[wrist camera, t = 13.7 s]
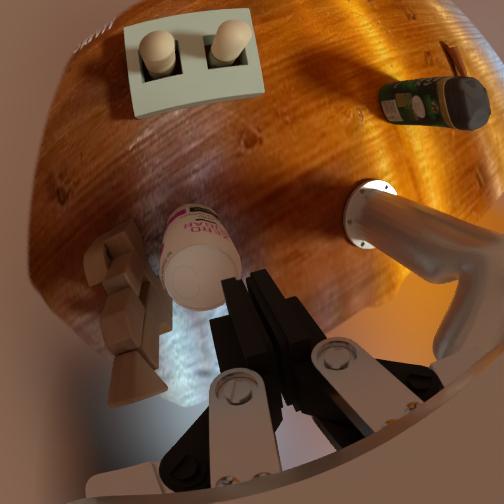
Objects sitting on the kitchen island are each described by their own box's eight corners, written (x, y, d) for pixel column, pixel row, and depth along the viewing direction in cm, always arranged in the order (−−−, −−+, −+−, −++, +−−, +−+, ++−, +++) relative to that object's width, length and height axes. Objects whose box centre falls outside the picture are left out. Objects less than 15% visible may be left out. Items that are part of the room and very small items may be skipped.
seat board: (242, 19, 28) (262, -12, 19) (256, 97, 33) (281, 83, 24) (128, 38, 25) (114, 8, 16) (139, 119, 30) (124, 111, 22)
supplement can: (173, 262, 39) (173, 324, 26) (158, 209, 36) (146, 250, 23) (226, 249, 41) (251, 304, 27) (215, 195, 37) (236, 228, 24)
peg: (174, 54, 28) (172, 26, 19) (177, 77, 29) (177, 55, 21) (147, 60, 27) (137, 35, 18) (150, 84, 29) (140, 64, 20)
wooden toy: (94, 235, 35) (16, 352, 12) (133, 216, 35) (75, 329, 13) (142, 316, 42) (132, 454, 19) (177, 302, 42) (189, 444, 20)
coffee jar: (406, 79, 36) (487, 75, 20) (417, 117, 40) (497, 126, 23) (371, 85, 36) (459, 77, 19) (384, 128, 39) (473, 138, 23)
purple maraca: (464, 44, 31) (493, 121, 39) (445, 48, 36) (474, 122, 44) (458, 46, 30) (489, 128, 38) (438, 50, 35) (469, 129, 43)
